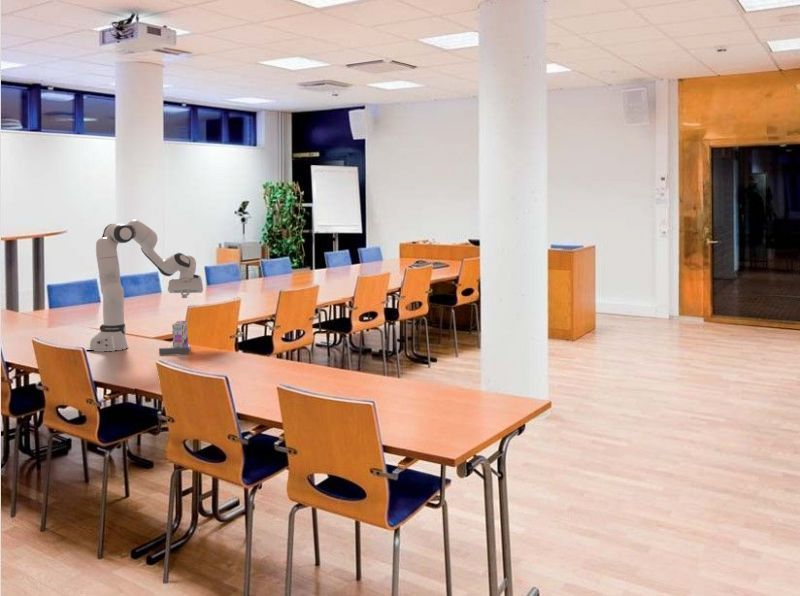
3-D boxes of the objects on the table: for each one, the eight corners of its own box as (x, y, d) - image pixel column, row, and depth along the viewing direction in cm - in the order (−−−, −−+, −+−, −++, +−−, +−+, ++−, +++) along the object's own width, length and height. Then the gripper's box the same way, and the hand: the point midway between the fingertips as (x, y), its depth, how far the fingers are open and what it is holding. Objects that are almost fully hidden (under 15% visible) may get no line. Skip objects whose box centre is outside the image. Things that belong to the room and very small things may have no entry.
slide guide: (159, 354, 407) (159, 348, 407) (166, 348, 426) (166, 342, 425) (189, 354, 409) (188, 348, 408) (195, 347, 427) (194, 341, 427)
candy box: (183, 353, 412) (182, 324, 409) (173, 353, 411) (171, 324, 409) (188, 348, 425) (187, 320, 423) (178, 348, 425) (177, 320, 422)
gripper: (168, 276, 442) (165, 294, 434) (203, 275, 444) (200, 294, 436) (170, 282, 447) (167, 300, 439) (204, 282, 449) (202, 300, 441)
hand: (184, 297), depth 438 cm, fingers closed
